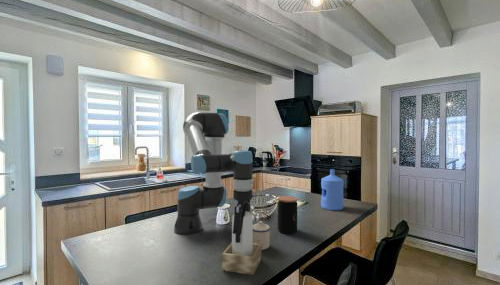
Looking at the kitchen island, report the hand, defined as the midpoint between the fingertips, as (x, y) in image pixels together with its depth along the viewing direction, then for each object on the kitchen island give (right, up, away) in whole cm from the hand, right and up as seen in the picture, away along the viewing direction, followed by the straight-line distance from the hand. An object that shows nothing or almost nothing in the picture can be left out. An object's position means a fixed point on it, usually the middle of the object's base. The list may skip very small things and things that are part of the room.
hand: (242, 244), depth 102 cm
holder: (0, -8, 0) cm, 8 cm away
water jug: (+63, -7, +84) cm, 105 cm away
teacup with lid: (+7, -8, +17) cm, 20 cm away
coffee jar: (+23, -8, +37) cm, 45 cm away
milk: (0, -7, 0) cm, 7 cm away
